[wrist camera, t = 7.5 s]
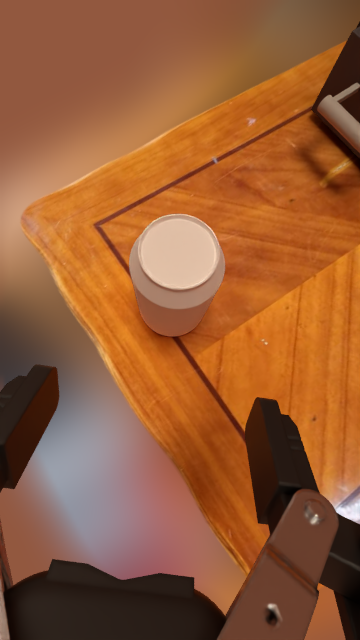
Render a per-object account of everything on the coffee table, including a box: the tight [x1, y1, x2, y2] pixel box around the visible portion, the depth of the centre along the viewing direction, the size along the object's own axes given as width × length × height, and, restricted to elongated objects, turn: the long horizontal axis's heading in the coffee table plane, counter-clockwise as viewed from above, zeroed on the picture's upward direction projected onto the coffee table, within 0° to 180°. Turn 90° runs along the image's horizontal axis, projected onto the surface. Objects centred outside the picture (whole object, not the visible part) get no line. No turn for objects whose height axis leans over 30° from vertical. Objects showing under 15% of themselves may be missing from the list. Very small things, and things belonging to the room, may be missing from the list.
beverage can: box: [129, 214, 225, 336], centre depth 24 cm, size 6×6×12 cm
